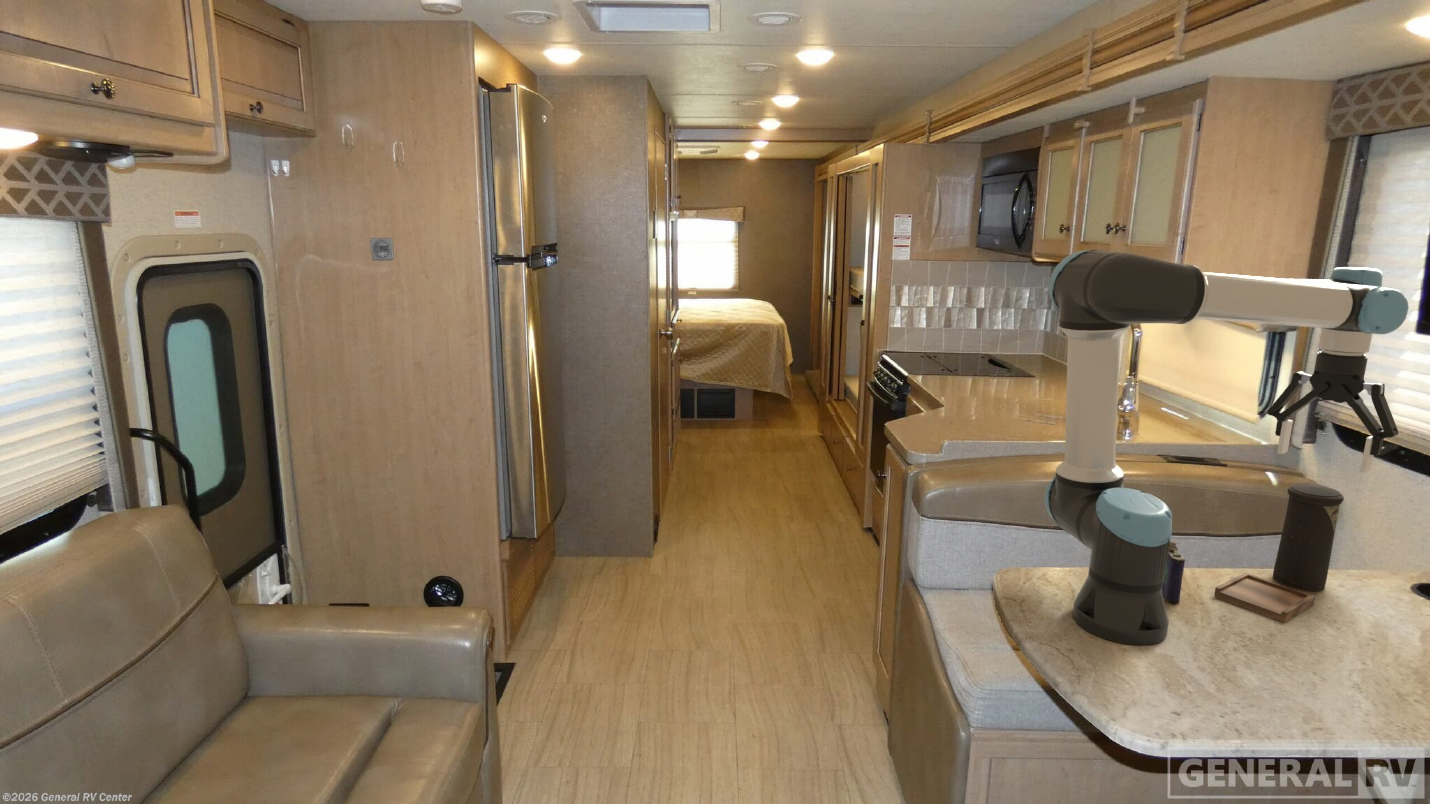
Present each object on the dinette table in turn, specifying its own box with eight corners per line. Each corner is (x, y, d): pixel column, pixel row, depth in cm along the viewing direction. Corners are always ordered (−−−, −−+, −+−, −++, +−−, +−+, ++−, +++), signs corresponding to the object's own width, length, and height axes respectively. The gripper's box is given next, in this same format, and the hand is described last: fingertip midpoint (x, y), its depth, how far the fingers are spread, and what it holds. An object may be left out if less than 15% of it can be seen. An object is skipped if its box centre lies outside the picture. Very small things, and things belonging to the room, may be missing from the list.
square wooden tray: (1284, 622, 144) (1286, 613, 144) (1214, 595, 154) (1215, 587, 153) (1313, 605, 150) (1315, 596, 150) (1244, 580, 160) (1245, 572, 160)
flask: (1146, 582, 159) (1154, 531, 157) (1161, 583, 159) (1169, 532, 156) (1167, 604, 150) (1176, 551, 148) (1184, 605, 150) (1193, 552, 148)
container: (1334, 594, 155) (1355, 496, 150) (1282, 590, 156) (1301, 492, 152) (1312, 575, 163) (1330, 481, 158) (1262, 571, 165) (1279, 478, 160)
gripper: (1435, 360, 141) (1411, 475, 146) (1276, 341, 161) (1259, 443, 166) (1420, 364, 137) (1395, 483, 142) (1259, 344, 157) (1242, 448, 162)
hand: (1322, 461), depth 154 cm, fingers open, 13 cm apart
